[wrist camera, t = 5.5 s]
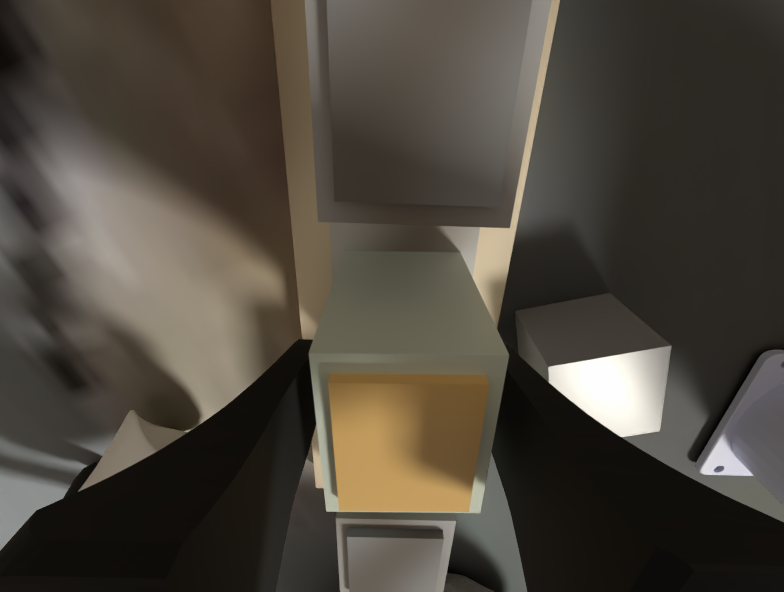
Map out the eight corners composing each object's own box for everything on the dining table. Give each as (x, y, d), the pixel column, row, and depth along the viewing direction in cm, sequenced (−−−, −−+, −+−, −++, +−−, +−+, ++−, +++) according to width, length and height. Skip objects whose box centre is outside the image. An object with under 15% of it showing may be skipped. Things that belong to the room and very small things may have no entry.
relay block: (608, 292, 16) (671, 345, 12) (605, 365, 18) (659, 431, 14) (514, 309, 16) (548, 366, 13) (520, 380, 18) (551, 447, 14)
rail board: (552, -35, 11) (755, -216, 5) (462, 471, 21) (490, 621, 15) (277, -47, 11) (126, -245, 5) (319, 468, 21) (289, 617, 15)
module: (460, 252, 13) (513, 364, 7) (448, 369, 15) (482, 525, 9) (344, 251, 13) (305, 362, 7) (350, 367, 15) (324, 523, 9)
